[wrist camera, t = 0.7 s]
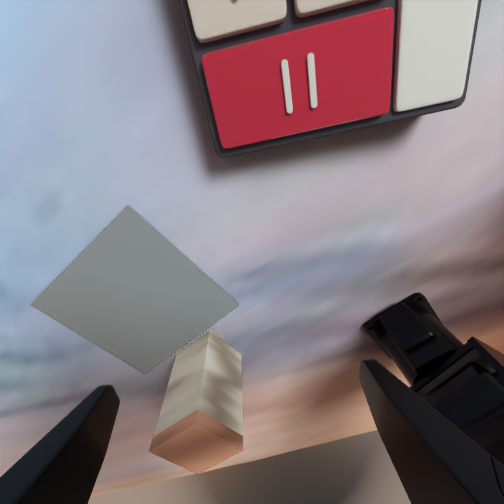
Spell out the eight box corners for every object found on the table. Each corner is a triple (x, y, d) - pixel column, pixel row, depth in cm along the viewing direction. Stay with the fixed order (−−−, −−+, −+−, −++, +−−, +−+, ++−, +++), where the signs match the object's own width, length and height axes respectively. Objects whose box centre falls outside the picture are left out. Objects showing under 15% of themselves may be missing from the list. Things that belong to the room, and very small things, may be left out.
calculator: (146, -117, 10) (540, -246, 9) (175, -48, 14) (452, -130, 13) (215, 160, 15) (476, 104, 13) (223, 154, 19) (426, 110, 17)
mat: (238, 303, 24) (238, 305, 23) (145, 371, 27) (144, 374, 27) (128, 205, 19) (126, 206, 19) (32, 302, 22) (30, 304, 22)
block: (241, 355, 27) (242, 450, 19) (209, 376, 28) (197, 474, 20) (209, 330, 25) (195, 423, 17) (176, 353, 26) (148, 451, 18)
